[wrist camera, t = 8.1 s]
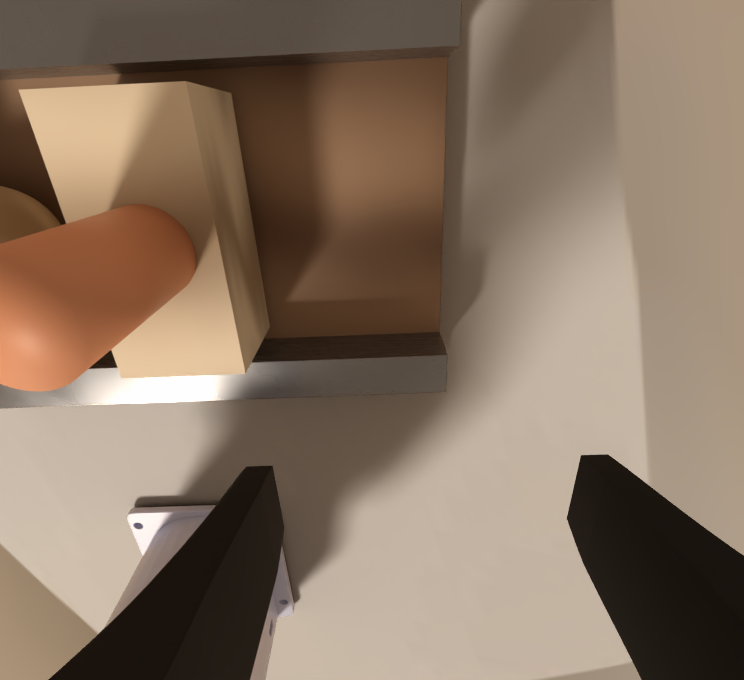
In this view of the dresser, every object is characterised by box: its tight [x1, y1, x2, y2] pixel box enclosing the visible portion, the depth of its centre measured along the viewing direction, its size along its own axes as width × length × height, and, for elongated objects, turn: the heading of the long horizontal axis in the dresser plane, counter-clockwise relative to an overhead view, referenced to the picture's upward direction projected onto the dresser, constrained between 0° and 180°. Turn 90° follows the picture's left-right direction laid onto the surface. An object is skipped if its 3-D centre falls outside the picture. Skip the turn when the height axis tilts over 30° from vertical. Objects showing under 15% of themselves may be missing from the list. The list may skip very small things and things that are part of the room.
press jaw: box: [0, 81, 270, 392], centre depth 11 cm, size 8×4×9 cm, turn 3°
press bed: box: [0, 0, 461, 408], centre depth 14 cm, size 14×20×5 cm
